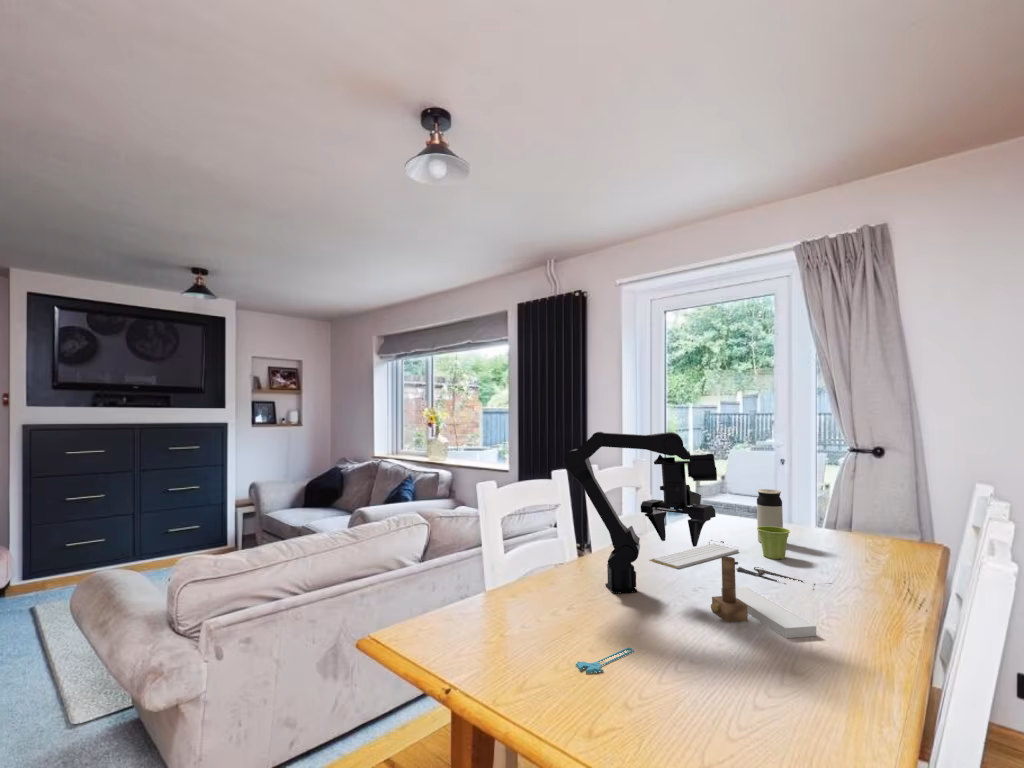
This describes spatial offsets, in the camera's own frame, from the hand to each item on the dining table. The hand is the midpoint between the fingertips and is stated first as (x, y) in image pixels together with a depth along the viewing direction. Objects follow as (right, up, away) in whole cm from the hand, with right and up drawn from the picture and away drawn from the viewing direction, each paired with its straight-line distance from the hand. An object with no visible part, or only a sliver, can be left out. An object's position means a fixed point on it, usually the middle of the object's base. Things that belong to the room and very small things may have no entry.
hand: (678, 543), depth 131 cm
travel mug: (+48, -15, +49) cm, 71 cm away
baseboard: (+16, -15, +34) cm, 40 cm away
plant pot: (+41, -14, +32) cm, 54 cm away
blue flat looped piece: (-24, -12, -34) cm, 44 cm away
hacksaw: (+33, -14, +12) cm, 38 cm away
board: (+15, -12, -13) cm, 24 cm away
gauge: (+7, -12, -14) cm, 20 cm away
